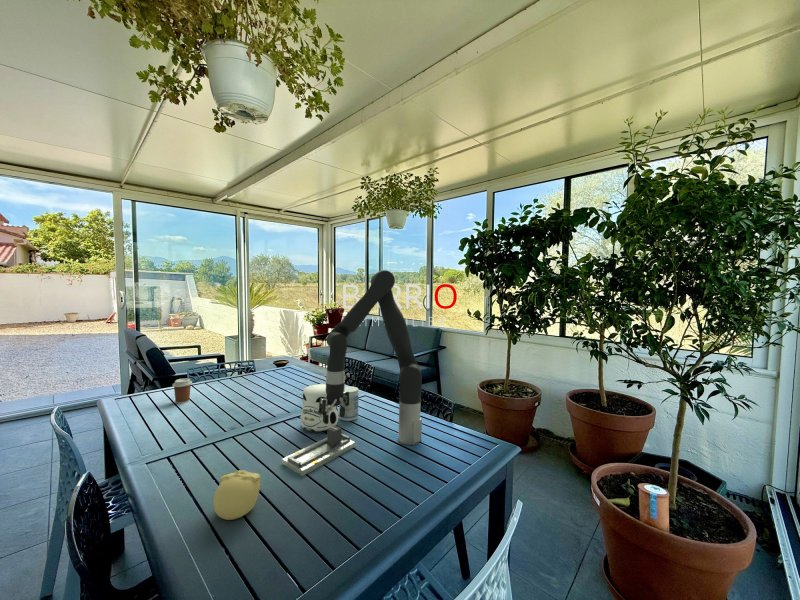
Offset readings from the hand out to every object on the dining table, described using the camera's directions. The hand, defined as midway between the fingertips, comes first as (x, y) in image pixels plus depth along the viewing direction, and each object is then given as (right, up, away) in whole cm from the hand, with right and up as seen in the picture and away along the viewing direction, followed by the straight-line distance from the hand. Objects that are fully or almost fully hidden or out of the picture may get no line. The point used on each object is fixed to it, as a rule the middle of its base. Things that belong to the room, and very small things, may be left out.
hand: (334, 420), depth 128 cm
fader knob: (0, -9, 0) cm, 9 cm away
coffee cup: (-95, -8, +47) cm, 106 cm away
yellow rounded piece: (-21, -13, -37) cm, 44 cm away
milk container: (-11, -11, +19) cm, 25 cm away
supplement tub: (+1, -11, +30) cm, 32 cm away
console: (-4, -12, -5) cm, 13 cm away
